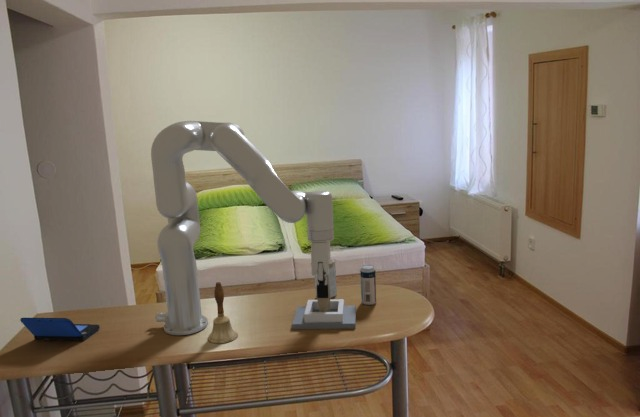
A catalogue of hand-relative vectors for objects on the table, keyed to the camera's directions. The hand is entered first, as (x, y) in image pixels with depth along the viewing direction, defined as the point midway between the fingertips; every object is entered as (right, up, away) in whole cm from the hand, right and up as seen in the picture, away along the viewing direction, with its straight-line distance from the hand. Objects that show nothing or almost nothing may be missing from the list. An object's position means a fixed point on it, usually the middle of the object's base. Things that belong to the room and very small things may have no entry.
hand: (323, 294), depth 150 cm
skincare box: (+1, -4, +19) cm, 20 cm away
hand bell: (-28, -11, -7) cm, 31 cm away
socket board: (+1, -8, +2) cm, 8 cm away
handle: (0, -5, +1) cm, 5 cm away
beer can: (+14, -5, +12) cm, 20 cm away
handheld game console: (-75, -13, -2) cm, 76 cm away
